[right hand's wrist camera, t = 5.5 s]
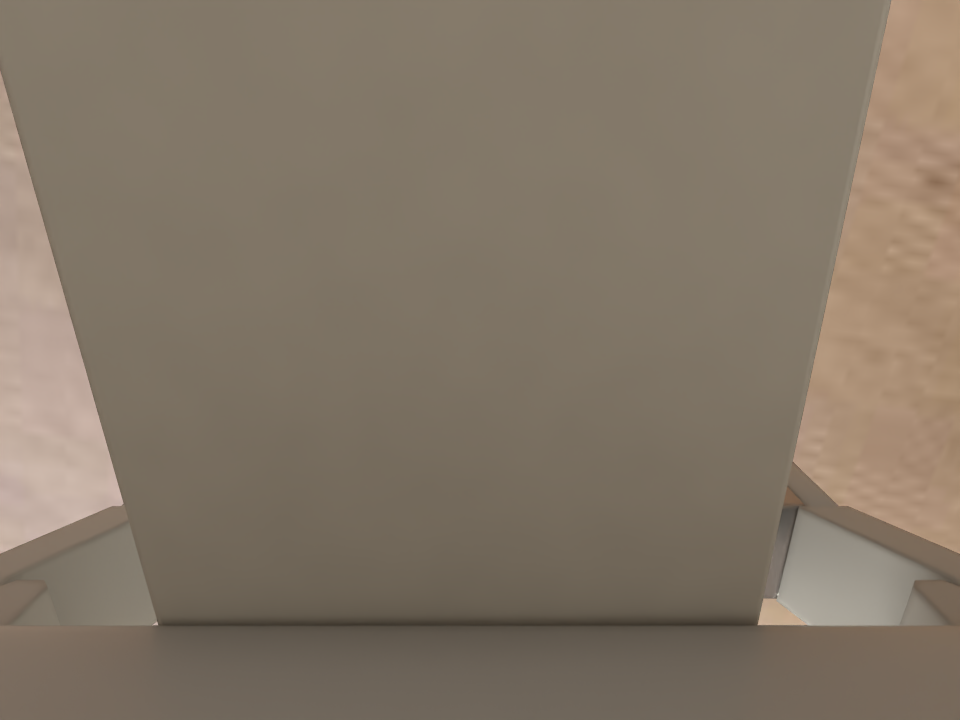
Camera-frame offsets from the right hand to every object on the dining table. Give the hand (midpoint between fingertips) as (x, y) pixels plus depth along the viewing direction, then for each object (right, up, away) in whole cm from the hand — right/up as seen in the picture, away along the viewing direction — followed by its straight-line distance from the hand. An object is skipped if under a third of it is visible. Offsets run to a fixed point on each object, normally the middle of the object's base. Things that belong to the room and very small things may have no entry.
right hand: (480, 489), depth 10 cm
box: (0, +12, 0) cm, 12 cm away
